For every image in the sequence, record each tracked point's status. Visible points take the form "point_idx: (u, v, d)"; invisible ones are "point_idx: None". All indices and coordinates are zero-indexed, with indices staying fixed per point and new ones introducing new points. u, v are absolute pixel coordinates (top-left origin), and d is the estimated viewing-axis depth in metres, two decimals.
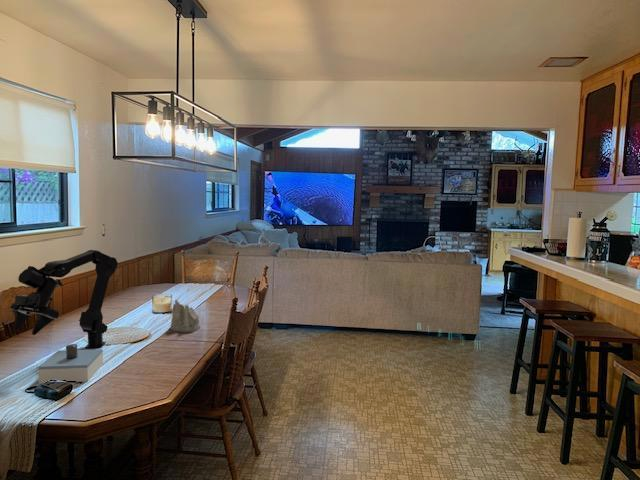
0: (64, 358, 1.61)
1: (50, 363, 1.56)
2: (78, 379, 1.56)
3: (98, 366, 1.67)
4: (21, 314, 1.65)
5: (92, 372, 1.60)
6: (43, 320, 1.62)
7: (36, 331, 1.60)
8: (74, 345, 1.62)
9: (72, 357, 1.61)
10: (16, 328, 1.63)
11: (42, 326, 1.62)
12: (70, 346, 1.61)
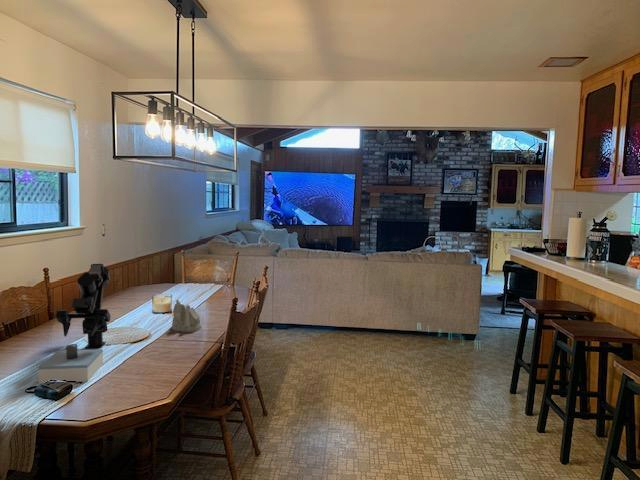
0: (64, 358, 1.61)
1: (50, 363, 1.56)
2: (78, 379, 1.56)
3: (98, 366, 1.67)
4: (67, 320, 1.70)
5: (92, 372, 1.60)
6: (97, 322, 1.72)
7: (93, 332, 1.69)
8: (74, 345, 1.62)
9: (72, 357, 1.61)
10: (66, 333, 1.67)
11: (96, 328, 1.71)
12: (70, 346, 1.61)
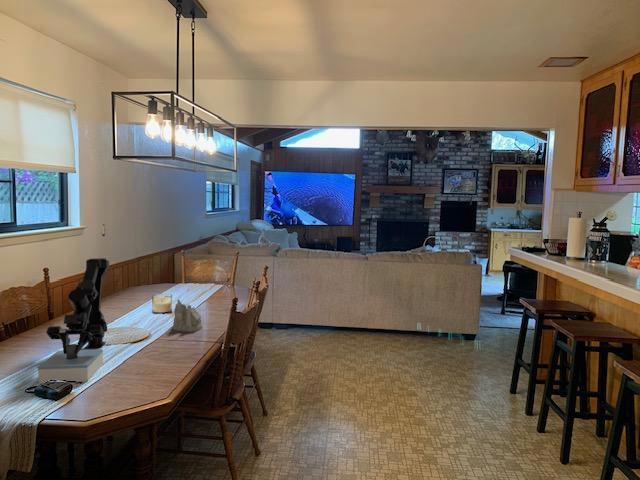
0: (64, 358, 1.61)
1: (49, 363, 1.56)
2: (78, 379, 1.56)
3: (98, 366, 1.67)
4: (67, 337, 1.64)
5: (92, 372, 1.60)
6: (83, 339, 1.65)
7: (78, 350, 1.62)
8: (74, 345, 1.62)
9: (72, 357, 1.61)
10: (65, 350, 1.61)
11: (82, 345, 1.64)
12: (70, 346, 1.61)
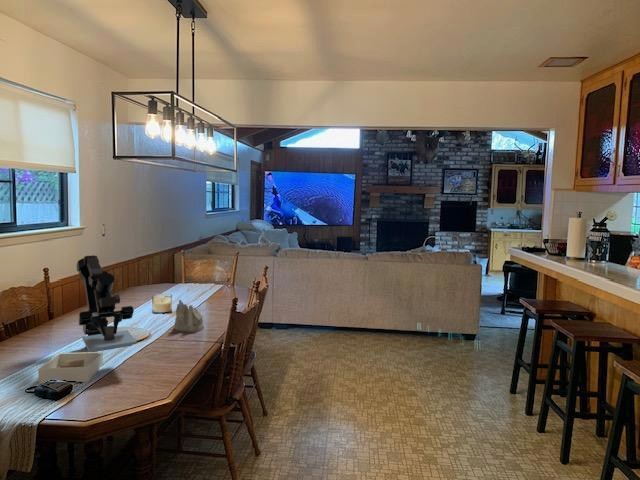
0: (102, 340, 1.65)
1: (95, 345, 1.60)
2: (78, 379, 1.56)
3: (98, 366, 1.67)
4: None
5: (92, 372, 1.60)
6: None
7: (116, 330, 1.68)
8: (111, 326, 1.67)
9: (112, 338, 1.66)
10: None
11: None
12: (109, 328, 1.66)
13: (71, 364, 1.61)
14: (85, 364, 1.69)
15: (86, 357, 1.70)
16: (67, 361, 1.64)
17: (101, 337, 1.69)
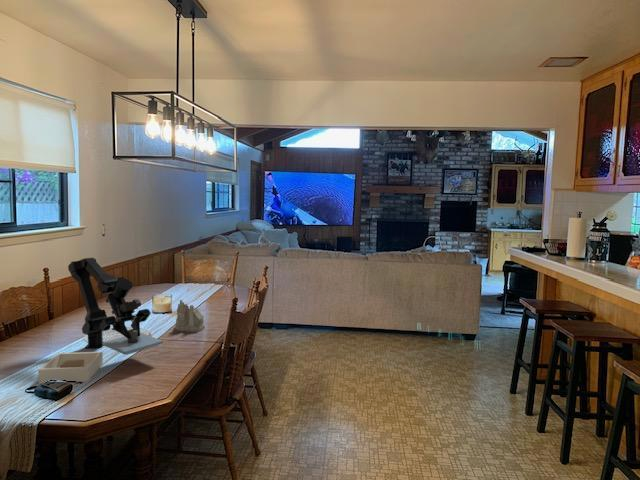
0: (128, 343, 1.72)
1: (127, 348, 1.66)
2: (78, 379, 1.56)
3: (98, 366, 1.67)
4: None
5: (92, 372, 1.60)
6: None
7: None
8: (134, 329, 1.74)
9: (136, 340, 1.73)
10: None
11: None
12: (133, 331, 1.73)
13: (71, 364, 1.61)
14: (85, 364, 1.69)
15: (86, 357, 1.70)
16: (67, 361, 1.64)
17: (122, 341, 1.74)
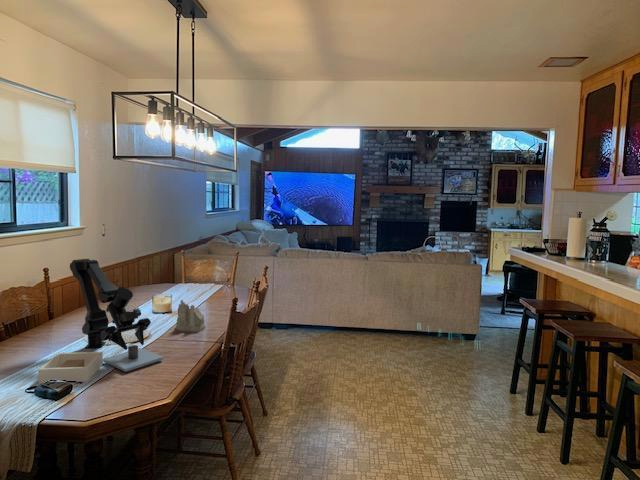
0: (128, 359, 1.72)
1: (127, 365, 1.67)
2: (78, 379, 1.56)
3: (98, 366, 1.67)
4: None
5: (92, 372, 1.60)
6: None
7: None
8: (134, 346, 1.75)
9: (137, 356, 1.74)
10: None
11: None
12: (134, 347, 1.73)
13: (71, 364, 1.61)
14: (85, 364, 1.69)
15: (86, 357, 1.70)
16: (67, 361, 1.64)
17: (123, 357, 1.75)
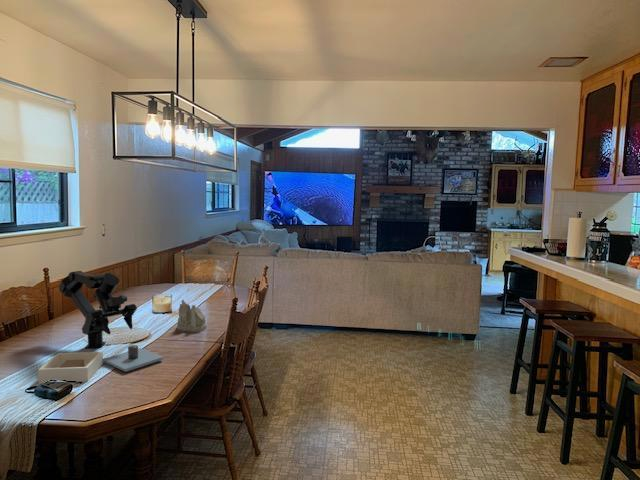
0: (128, 359, 1.72)
1: (127, 365, 1.67)
2: (78, 379, 1.56)
3: (98, 366, 1.67)
4: None
5: (92, 372, 1.60)
6: None
7: None
8: (134, 346, 1.75)
9: (137, 356, 1.74)
10: None
11: None
12: (134, 347, 1.73)
13: (71, 364, 1.61)
14: (85, 364, 1.69)
15: (86, 357, 1.70)
16: (67, 361, 1.64)
17: (123, 357, 1.75)
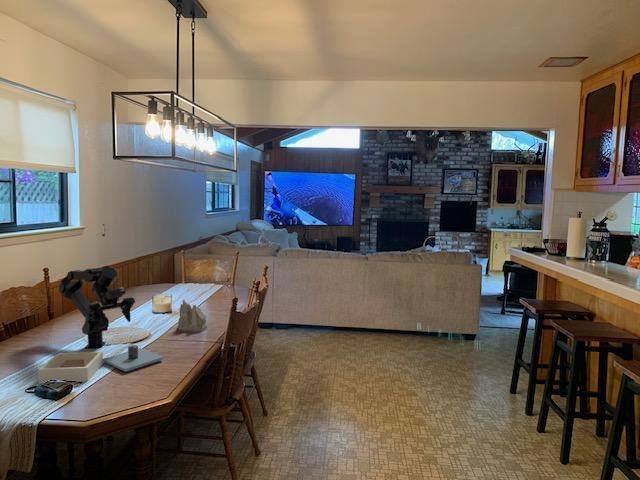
0: (128, 359, 1.72)
1: (127, 365, 1.67)
2: (78, 379, 1.56)
3: (98, 366, 1.67)
4: None
5: (92, 372, 1.60)
6: None
7: None
8: (134, 346, 1.75)
9: (137, 356, 1.74)
10: None
11: None
12: (134, 347, 1.73)
13: (71, 364, 1.61)
14: (85, 364, 1.69)
15: (86, 357, 1.70)
16: (67, 361, 1.64)
17: (123, 357, 1.75)
